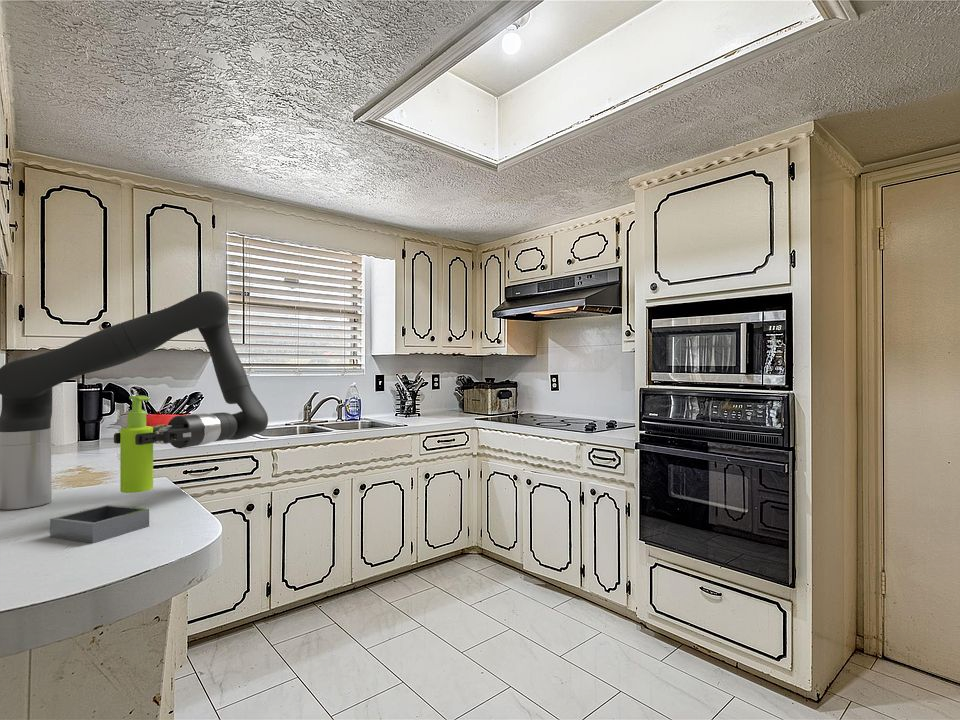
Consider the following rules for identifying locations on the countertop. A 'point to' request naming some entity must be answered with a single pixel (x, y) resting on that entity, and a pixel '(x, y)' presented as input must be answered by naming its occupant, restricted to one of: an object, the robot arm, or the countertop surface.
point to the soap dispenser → (135, 451)
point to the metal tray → (99, 523)
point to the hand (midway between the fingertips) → (126, 439)
